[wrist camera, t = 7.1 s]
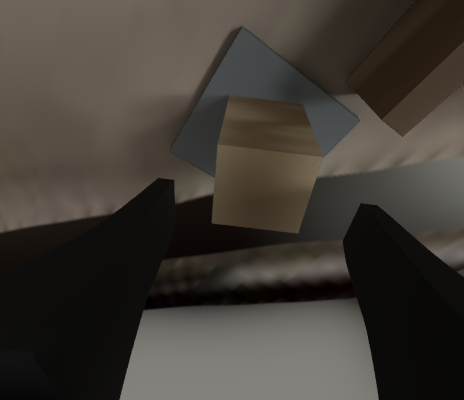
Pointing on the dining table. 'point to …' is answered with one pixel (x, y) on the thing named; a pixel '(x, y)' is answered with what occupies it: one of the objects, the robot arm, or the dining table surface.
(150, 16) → the dining table surface
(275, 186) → the oak block
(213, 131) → the mat
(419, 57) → the brown wooden arch
